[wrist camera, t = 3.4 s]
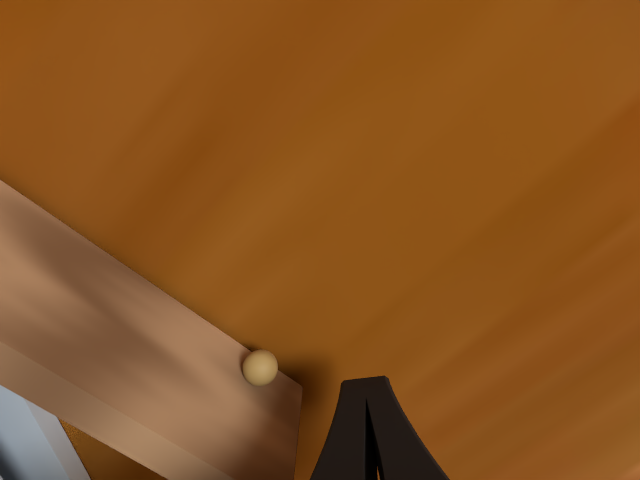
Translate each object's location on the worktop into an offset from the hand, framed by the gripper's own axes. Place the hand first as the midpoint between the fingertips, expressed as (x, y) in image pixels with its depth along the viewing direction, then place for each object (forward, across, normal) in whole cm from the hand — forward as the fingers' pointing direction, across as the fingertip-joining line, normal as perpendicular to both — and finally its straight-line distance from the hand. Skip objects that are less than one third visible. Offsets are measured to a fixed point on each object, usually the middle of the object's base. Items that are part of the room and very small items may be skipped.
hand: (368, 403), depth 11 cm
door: (+3, +7, -4) cm, 9 cm away
